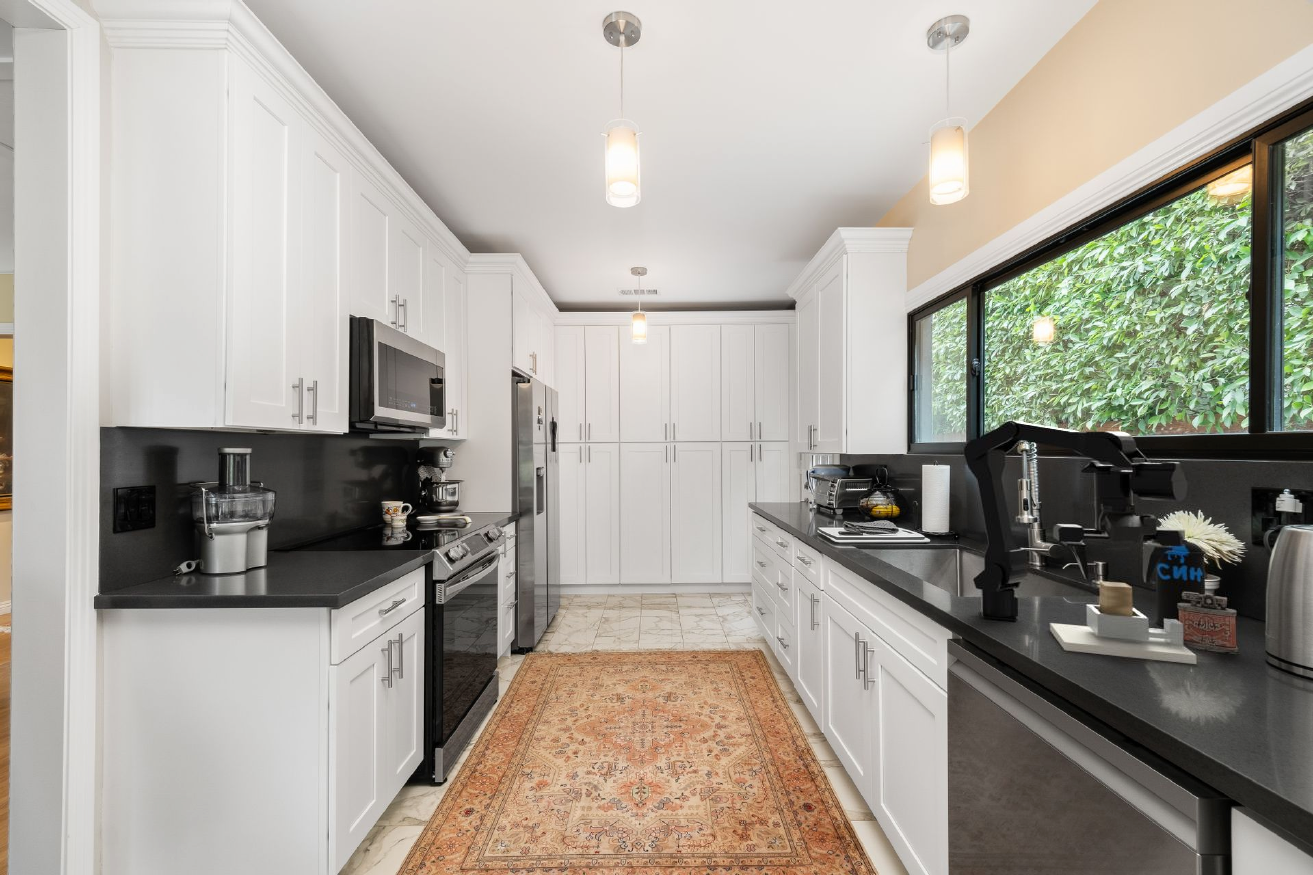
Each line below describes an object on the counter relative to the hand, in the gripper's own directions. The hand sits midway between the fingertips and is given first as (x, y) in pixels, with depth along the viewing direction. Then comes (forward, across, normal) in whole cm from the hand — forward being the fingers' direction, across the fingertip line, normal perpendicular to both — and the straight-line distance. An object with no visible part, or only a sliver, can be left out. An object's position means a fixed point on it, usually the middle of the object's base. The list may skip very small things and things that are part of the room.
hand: (1115, 580), depth 112 cm
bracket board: (+12, 0, 0) cm, 12 cm away
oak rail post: (+9, 0, 0) cm, 9 cm away
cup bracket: (+11, +3, 0) cm, 11 cm away
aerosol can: (+12, +16, +20) cm, 28 cm away
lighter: (+12, +15, +5) cm, 20 cm away
